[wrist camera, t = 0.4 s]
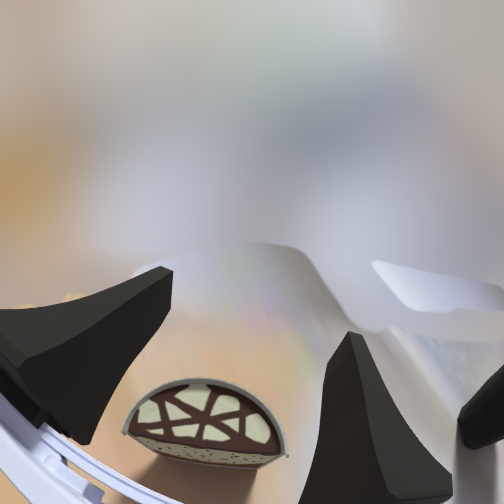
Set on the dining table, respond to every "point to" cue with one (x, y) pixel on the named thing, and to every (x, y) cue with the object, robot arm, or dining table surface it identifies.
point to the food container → (207, 424)
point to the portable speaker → (485, 413)
